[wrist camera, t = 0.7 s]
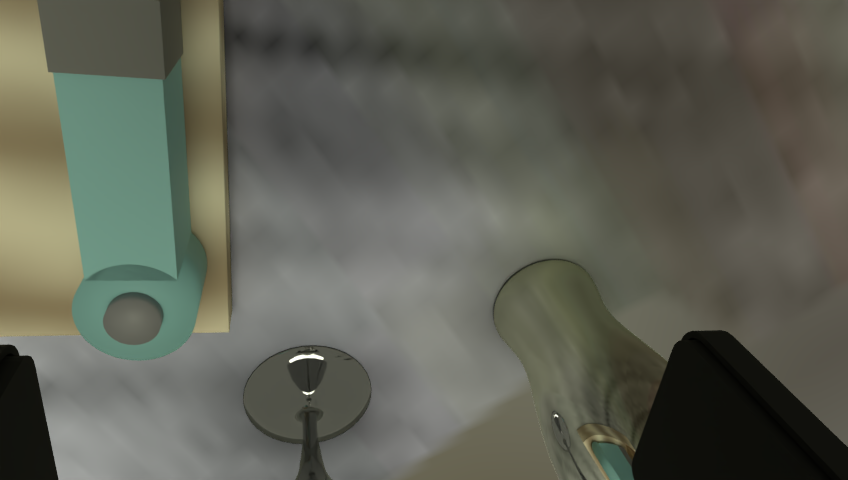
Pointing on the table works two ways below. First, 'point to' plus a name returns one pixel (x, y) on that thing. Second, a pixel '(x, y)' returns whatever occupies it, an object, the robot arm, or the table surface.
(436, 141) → the table surface
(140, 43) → the leg
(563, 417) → the beer glass
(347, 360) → the silver goblet
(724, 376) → the robot arm
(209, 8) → the seat
